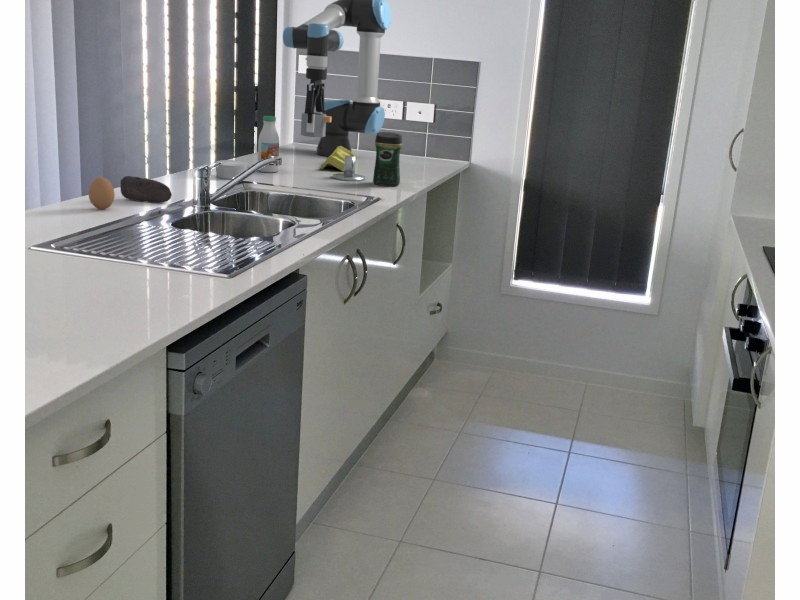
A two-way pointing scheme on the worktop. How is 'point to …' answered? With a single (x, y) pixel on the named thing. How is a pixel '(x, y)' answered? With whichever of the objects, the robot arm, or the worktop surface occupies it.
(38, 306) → the worktop surface
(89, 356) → the worktop surface
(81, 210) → the worktop surface
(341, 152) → the plastic component
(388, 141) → the coffee jar
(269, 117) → the milk bottle
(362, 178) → the duct stub
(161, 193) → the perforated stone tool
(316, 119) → the grey octagonal holder
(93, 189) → the egg
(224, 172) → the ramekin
